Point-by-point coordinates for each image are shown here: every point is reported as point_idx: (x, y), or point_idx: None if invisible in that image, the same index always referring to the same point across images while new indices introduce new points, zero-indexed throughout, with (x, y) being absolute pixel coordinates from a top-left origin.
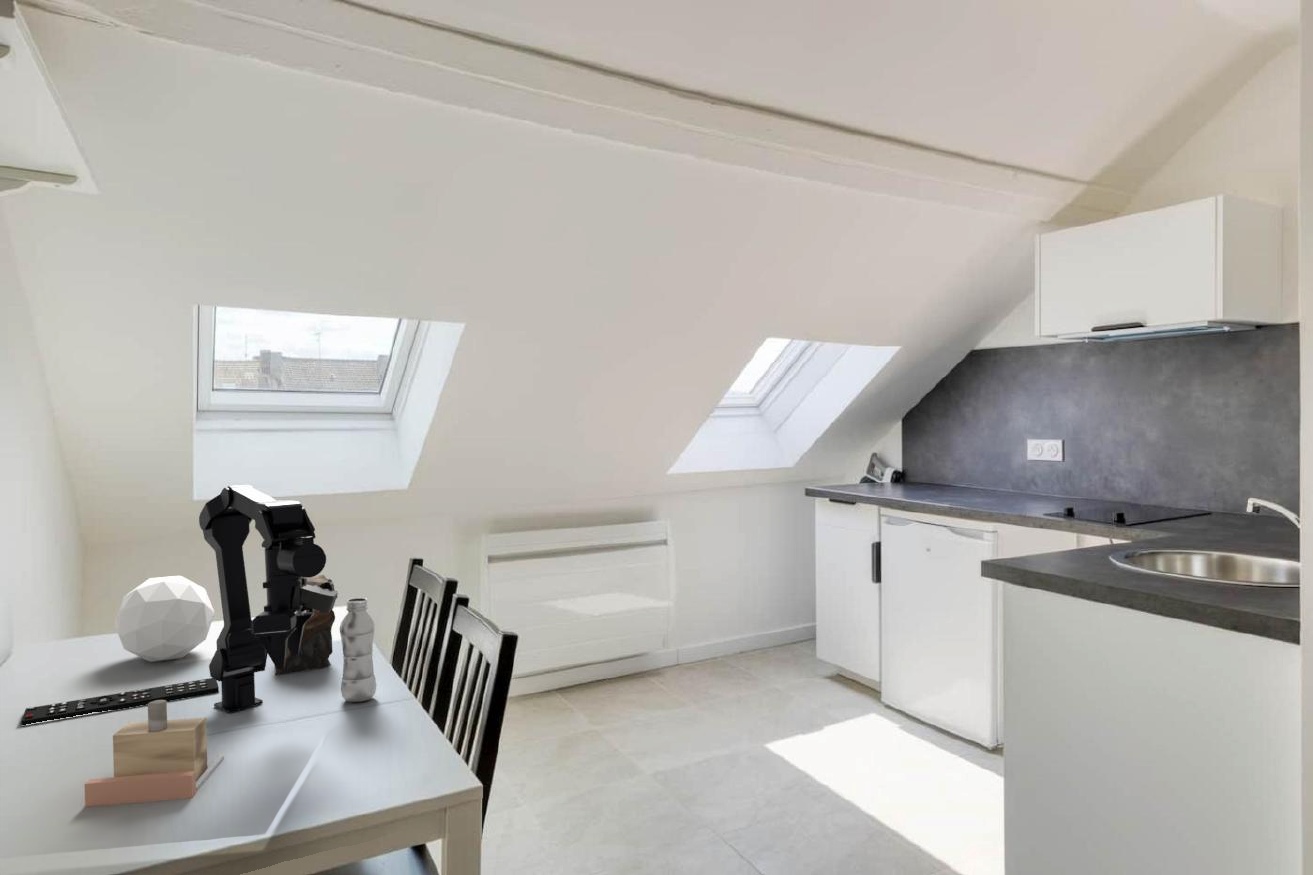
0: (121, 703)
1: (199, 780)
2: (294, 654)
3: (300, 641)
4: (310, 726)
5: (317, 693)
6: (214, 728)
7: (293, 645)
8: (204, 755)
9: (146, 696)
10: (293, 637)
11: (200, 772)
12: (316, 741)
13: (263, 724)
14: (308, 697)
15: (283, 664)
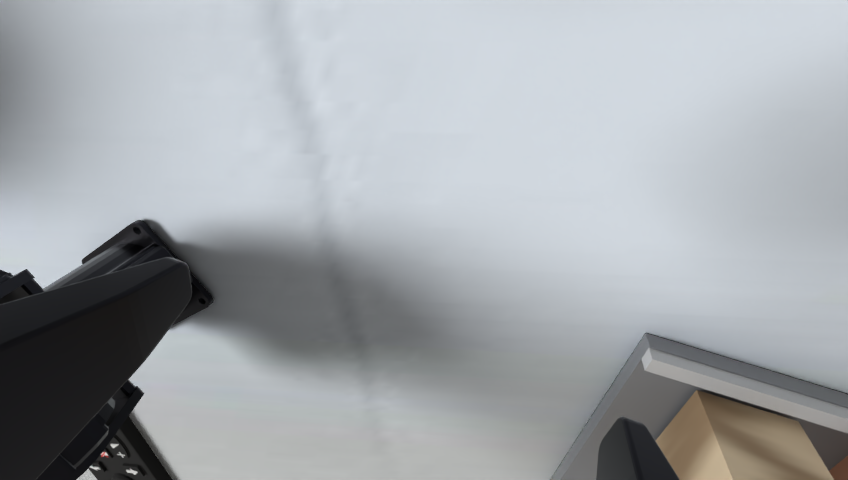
0: (146, 470)
1: (830, 422)
2: (183, 286)
3: (54, 310)
4: (401, 65)
5: (44, 33)
6: (318, 335)
7: (118, 344)
8: (736, 437)
9: (111, 440)
10: (30, 404)
11: (755, 414)
12: (592, 41)
13: (325, 222)
14: (87, 70)
15: (668, 463)
